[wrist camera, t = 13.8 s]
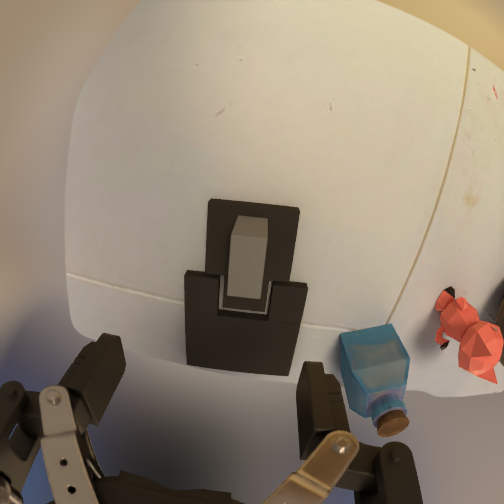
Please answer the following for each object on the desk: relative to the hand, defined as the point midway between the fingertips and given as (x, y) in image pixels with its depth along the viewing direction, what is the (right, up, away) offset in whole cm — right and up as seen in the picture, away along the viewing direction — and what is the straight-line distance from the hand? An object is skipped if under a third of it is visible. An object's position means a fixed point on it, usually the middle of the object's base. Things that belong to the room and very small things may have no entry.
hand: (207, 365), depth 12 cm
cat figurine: (+25, -2, +18) cm, 31 cm away
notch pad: (+1, -3, +20) cm, 20 cm away
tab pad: (+2, +4, +17) cm, 18 cm away
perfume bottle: (+15, -7, +21) cm, 27 cm away
